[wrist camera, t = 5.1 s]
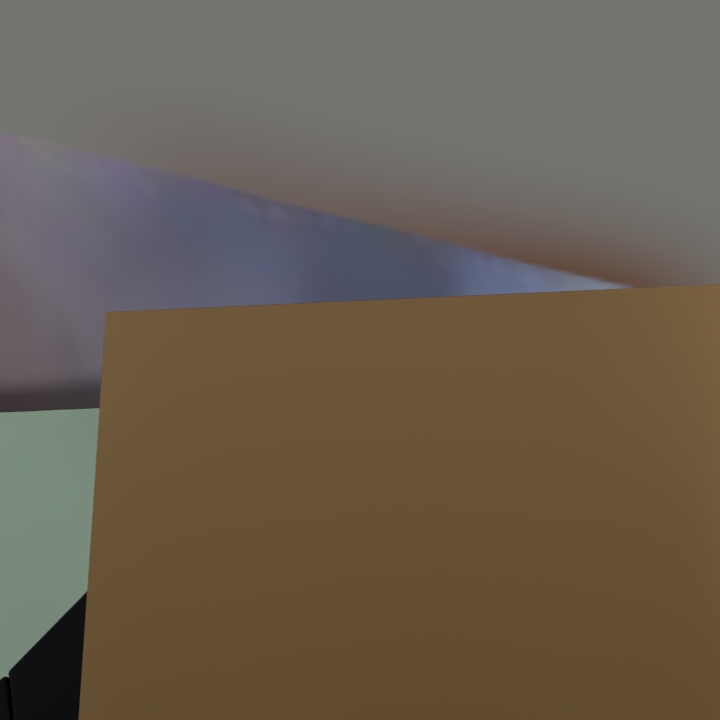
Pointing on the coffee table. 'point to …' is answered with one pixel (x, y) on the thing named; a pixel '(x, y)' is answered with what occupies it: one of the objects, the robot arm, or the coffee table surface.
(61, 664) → the robot arm
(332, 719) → the cover
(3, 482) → the stand
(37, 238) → the coffee table surface
